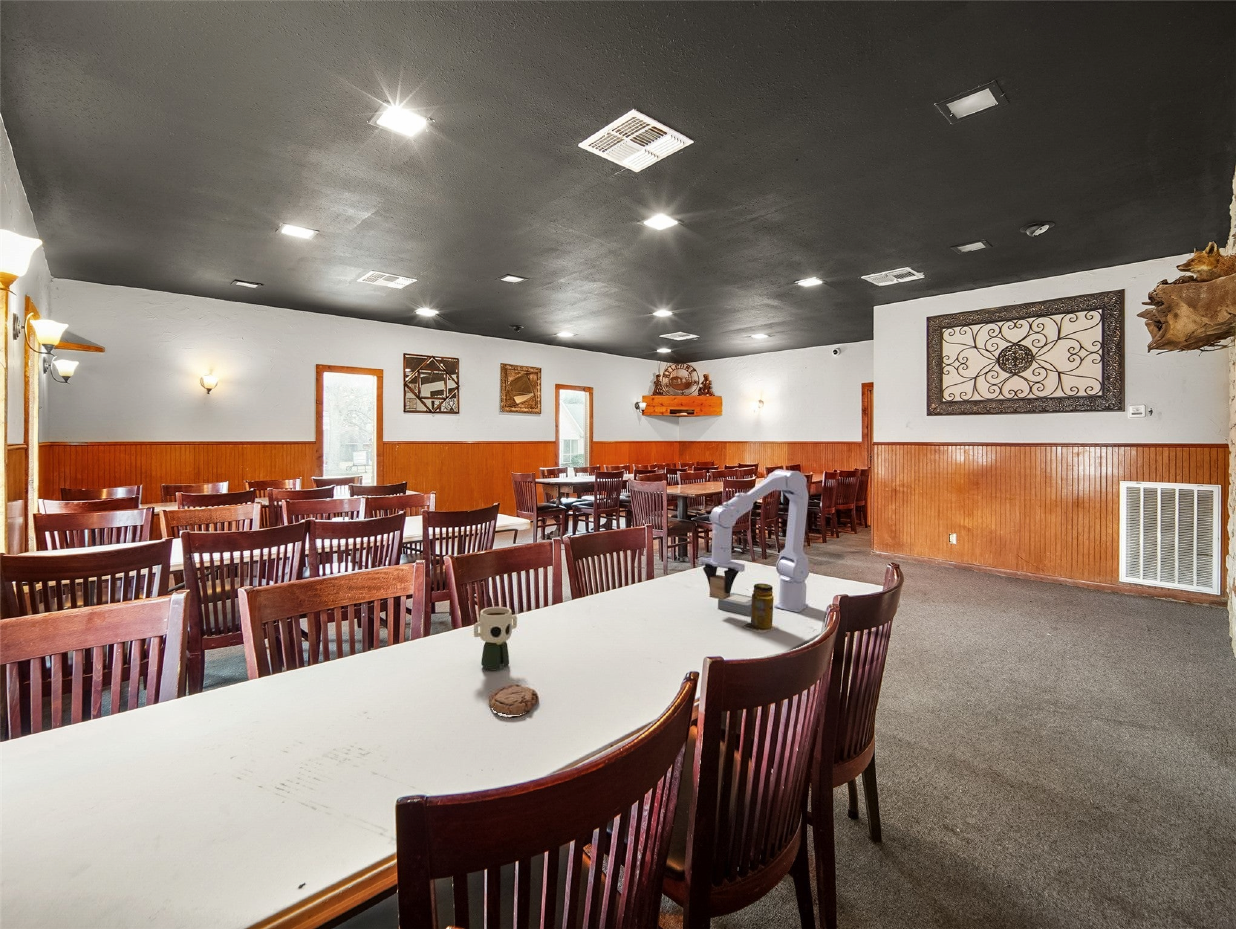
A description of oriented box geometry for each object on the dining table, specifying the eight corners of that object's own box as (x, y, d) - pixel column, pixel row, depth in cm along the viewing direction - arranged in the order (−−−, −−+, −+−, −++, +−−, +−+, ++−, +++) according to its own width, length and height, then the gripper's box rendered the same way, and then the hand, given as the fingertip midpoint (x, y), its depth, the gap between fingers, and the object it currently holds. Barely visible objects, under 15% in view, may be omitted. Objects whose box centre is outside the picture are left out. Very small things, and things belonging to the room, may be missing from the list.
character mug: (481, 677, 129) (481, 619, 128) (466, 667, 134) (466, 611, 133) (523, 665, 136) (524, 610, 135) (508, 656, 141) (509, 603, 140)
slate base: (732, 601, 192) (732, 592, 192) (760, 607, 186) (761, 598, 186) (717, 608, 184) (718, 598, 184) (747, 615, 178) (747, 605, 178)
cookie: (489, 721, 111) (489, 706, 110) (487, 696, 121) (487, 682, 121) (542, 716, 113) (542, 701, 113) (536, 692, 123) (536, 678, 123)
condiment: (778, 627, 168) (780, 585, 168) (762, 633, 162) (763, 591, 162) (756, 620, 173) (758, 580, 173) (739, 626, 168) (741, 585, 167)
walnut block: (716, 593, 181) (717, 574, 181) (730, 596, 178) (730, 577, 178) (709, 596, 178) (710, 577, 177) (723, 599, 175) (723, 579, 174)
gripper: (694, 545, 178) (692, 589, 179) (738, 552, 170) (736, 598, 170) (705, 542, 184) (703, 584, 185) (748, 548, 175) (746, 593, 176)
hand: (720, 591), depth 178 cm, fingers closed on walnut block, 5 cm apart
